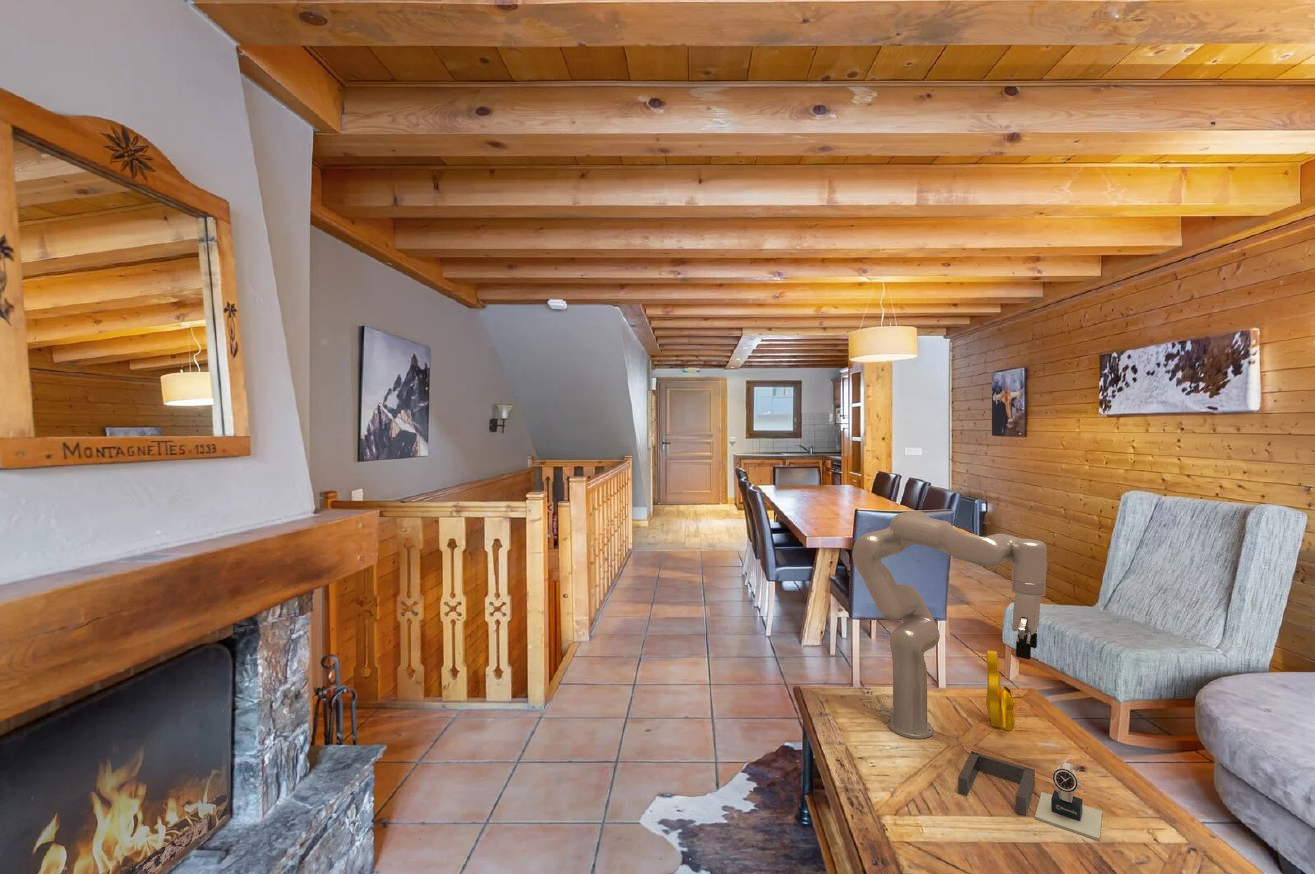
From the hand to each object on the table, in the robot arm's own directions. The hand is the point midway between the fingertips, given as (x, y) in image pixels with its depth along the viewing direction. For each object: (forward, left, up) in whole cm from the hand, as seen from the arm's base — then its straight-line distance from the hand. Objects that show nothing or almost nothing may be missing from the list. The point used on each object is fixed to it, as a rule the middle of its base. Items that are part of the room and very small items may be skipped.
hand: (1026, 652), depth 156 cm
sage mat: (+10, -14, -32) cm, 36 cm away
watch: (+10, -14, -31) cm, 36 cm away
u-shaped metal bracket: (-5, -13, -32) cm, 35 cm away
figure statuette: (-10, +25, -32) cm, 42 cm away
